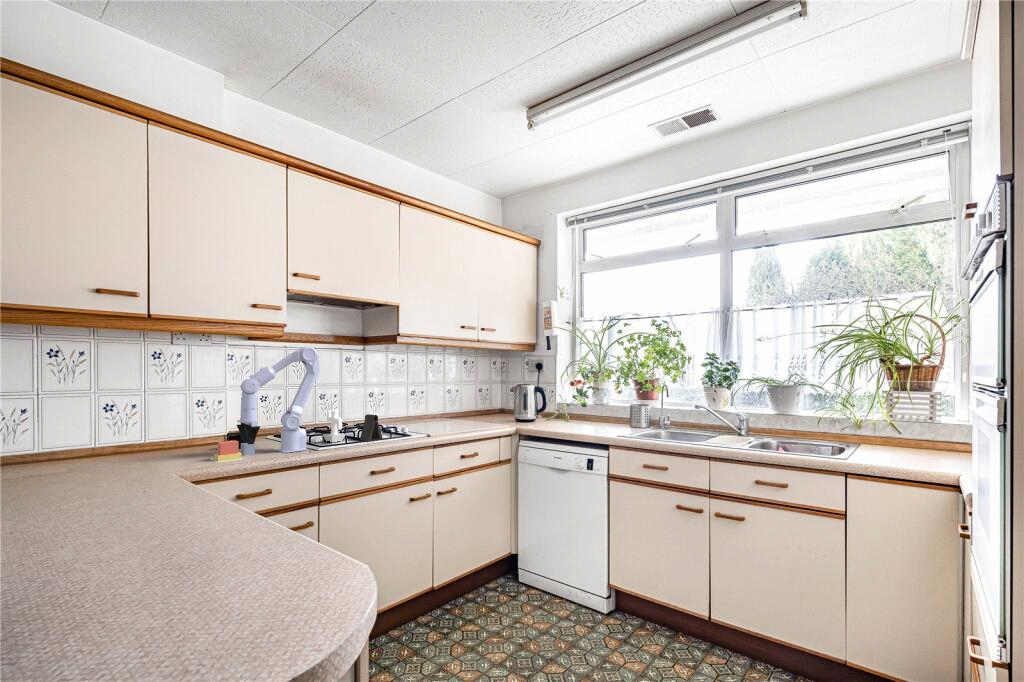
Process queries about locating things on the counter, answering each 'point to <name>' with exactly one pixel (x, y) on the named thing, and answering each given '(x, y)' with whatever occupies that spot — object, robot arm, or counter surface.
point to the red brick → (228, 447)
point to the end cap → (235, 438)
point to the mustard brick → (227, 457)
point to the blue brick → (247, 449)
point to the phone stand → (371, 429)
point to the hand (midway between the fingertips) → (247, 442)
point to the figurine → (334, 426)
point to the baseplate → (226, 460)
